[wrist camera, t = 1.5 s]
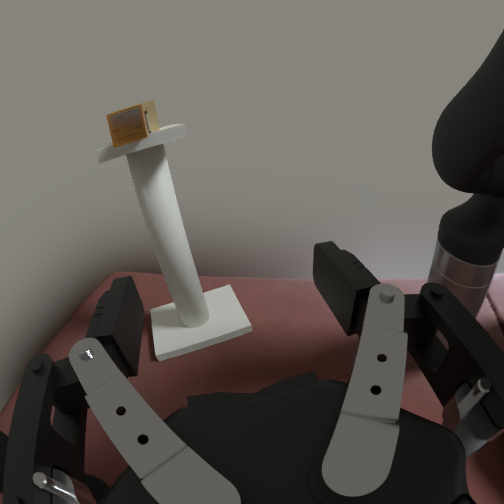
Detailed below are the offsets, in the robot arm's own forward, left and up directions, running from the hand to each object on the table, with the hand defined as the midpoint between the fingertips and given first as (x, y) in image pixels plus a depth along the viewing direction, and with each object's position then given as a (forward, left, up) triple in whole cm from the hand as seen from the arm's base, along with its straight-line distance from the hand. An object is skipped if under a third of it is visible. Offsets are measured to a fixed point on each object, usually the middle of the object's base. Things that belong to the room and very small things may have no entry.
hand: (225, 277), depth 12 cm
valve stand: (+3, -27, -26) cm, 38 cm away
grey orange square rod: (+3, -21, +6) cm, 22 cm away
